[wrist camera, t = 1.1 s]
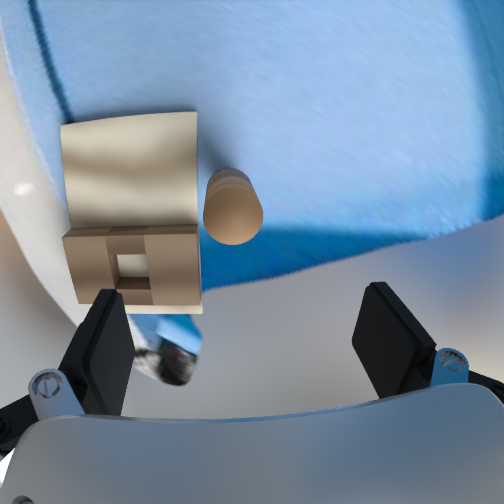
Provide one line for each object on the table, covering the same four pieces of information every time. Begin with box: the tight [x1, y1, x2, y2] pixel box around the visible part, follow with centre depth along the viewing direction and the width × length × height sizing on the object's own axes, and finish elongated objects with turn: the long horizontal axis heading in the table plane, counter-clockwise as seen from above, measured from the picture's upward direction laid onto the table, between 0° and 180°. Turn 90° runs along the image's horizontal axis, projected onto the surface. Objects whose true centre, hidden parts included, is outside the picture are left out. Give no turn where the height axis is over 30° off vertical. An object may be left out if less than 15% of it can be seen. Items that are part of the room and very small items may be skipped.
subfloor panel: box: [60, 112, 203, 314], centre depth 29 cm, size 22×14×4 cm, turn 178°
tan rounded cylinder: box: [203, 168, 263, 245], centre depth 25 cm, size 4×4×10 cm
